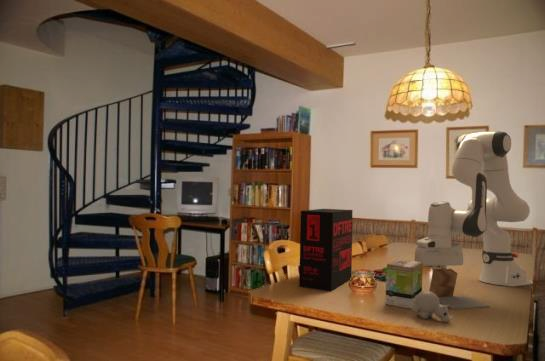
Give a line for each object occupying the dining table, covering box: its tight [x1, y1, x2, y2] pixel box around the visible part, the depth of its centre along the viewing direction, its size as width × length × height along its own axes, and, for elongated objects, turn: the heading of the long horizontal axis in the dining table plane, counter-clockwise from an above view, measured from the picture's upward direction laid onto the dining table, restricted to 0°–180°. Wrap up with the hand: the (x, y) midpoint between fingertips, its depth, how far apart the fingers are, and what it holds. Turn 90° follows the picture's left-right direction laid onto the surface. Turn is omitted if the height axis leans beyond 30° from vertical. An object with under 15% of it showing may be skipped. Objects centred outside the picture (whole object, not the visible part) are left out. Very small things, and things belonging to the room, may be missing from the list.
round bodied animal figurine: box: [411, 290, 453, 323], centre depth 131 cm, size 7×12×8 cm, turn 44°
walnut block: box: [428, 268, 458, 297], centre depth 159 cm, size 8×4×10 cm, turn 104°
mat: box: [438, 295, 491, 310], centre depth 151 cm, size 16×14×1 cm
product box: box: [298, 208, 354, 292], centre depth 179 cm, size 26×14×32 cm, turn 151°
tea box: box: [384, 259, 424, 310], centre depth 150 cm, size 15×10×15 cm
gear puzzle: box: [372, 266, 387, 283], centre depth 197 cm, size 31×16×4 cm, turn 139°
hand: (439, 276), depth 162 cm, fingers closed
